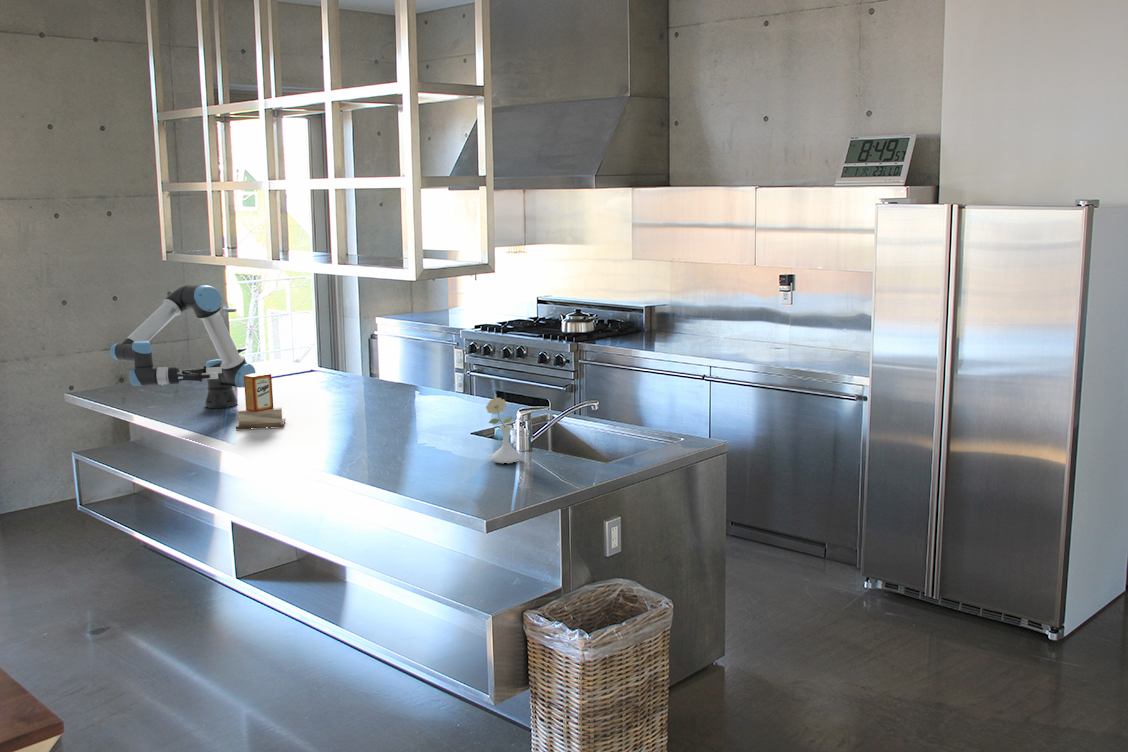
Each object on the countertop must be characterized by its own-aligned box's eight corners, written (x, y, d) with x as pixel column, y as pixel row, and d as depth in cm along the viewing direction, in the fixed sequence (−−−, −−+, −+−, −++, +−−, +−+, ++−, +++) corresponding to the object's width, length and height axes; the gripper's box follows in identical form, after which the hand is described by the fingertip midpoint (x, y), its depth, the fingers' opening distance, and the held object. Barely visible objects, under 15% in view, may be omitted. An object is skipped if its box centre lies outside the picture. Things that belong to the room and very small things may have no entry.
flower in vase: (521, 457, 362) (520, 394, 357) (521, 465, 350) (520, 400, 346) (487, 458, 361) (486, 394, 357) (486, 466, 350) (484, 400, 346)
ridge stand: (239, 424, 422) (238, 407, 421) (285, 421, 426) (284, 405, 425) (235, 430, 411) (234, 413, 409) (283, 427, 415) (282, 411, 413)
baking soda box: (264, 406, 423) (262, 371, 420) (273, 408, 419) (271, 373, 416) (246, 410, 415) (243, 374, 412) (255, 412, 411) (252, 376, 408)
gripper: (174, 378, 424) (223, 375, 429) (164, 389, 400) (217, 386, 405) (172, 362, 423) (222, 359, 428) (162, 372, 399) (215, 369, 404)
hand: (219, 372), depth 416 cm, fingers open, 13 cm apart
